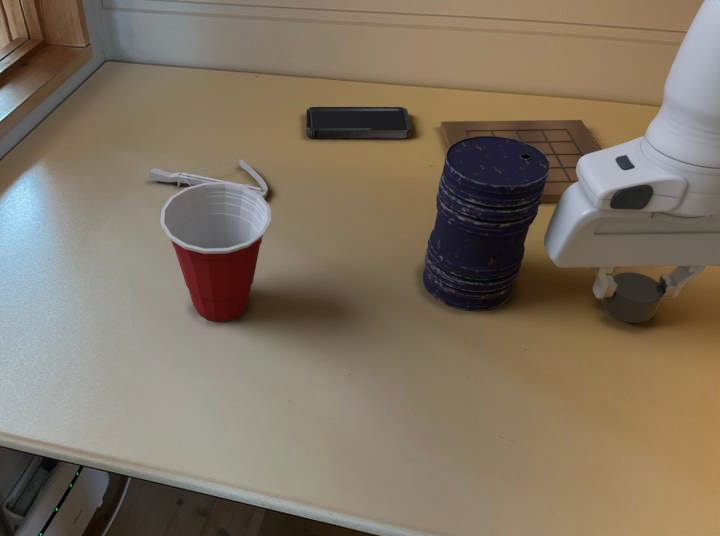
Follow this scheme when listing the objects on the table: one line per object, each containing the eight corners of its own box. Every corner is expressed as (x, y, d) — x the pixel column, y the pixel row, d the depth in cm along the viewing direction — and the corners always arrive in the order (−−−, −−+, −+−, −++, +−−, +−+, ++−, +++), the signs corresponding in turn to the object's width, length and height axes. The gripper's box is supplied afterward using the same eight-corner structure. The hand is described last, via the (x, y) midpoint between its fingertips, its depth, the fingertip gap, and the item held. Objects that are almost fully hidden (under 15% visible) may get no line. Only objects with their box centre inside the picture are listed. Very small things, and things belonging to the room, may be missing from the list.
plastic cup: (180, 348, 72) (168, 252, 64) (164, 284, 80) (152, 190, 71) (283, 330, 74) (284, 233, 65) (258, 268, 81) (256, 175, 73)
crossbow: (278, 177, 97) (279, 164, 96) (252, 228, 88) (252, 214, 87) (169, 156, 100) (168, 143, 98) (133, 203, 91) (132, 190, 90)
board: (578, 127, 103) (581, 118, 102) (627, 202, 89) (631, 193, 88) (439, 129, 104) (441, 120, 103) (466, 203, 90) (468, 194, 89)
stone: (643, 291, 75) (652, 271, 73) (662, 322, 72) (672, 302, 70) (595, 291, 76) (603, 272, 74) (611, 322, 72) (620, 303, 70)
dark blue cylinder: (439, 317, 75) (467, 192, 64) (408, 261, 81) (429, 141, 71) (529, 304, 76) (571, 180, 65) (491, 251, 82) (523, 130, 72)
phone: (306, 106, 108) (406, 106, 107) (306, 113, 108) (405, 113, 107) (306, 131, 102) (412, 131, 101) (306, 138, 103) (411, 138, 102)
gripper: (791, 152, 64) (723, 273, 74) (561, 157, 65) (524, 276, 75) (829, 189, 60) (753, 313, 70) (582, 194, 61) (541, 315, 71)
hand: (632, 294), depth 72 cm, fingers closed on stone, 5 cm apart
